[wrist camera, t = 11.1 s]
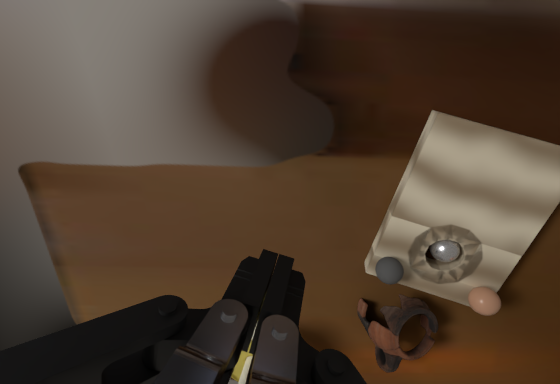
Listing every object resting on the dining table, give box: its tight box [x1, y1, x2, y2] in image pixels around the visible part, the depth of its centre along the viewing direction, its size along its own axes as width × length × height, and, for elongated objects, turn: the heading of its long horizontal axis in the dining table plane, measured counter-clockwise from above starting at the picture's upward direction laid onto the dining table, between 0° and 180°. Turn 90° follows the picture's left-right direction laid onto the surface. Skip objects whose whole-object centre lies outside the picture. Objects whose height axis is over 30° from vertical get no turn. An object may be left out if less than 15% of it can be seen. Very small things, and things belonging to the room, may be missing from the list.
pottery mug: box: [358, 294, 438, 372], centre depth 43 cm, size 12×10×8 cm
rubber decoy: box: [375, 257, 404, 284], centre depth 38 cm, size 3×3×3 cm
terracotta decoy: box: [468, 286, 501, 316], centre depth 37 cm, size 3×3×3 cm
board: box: [365, 110, 560, 307], centre depth 37 cm, size 22×16×2 cm
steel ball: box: [430, 239, 460, 262], centre depth 38 cm, size 3×3×3 cm
